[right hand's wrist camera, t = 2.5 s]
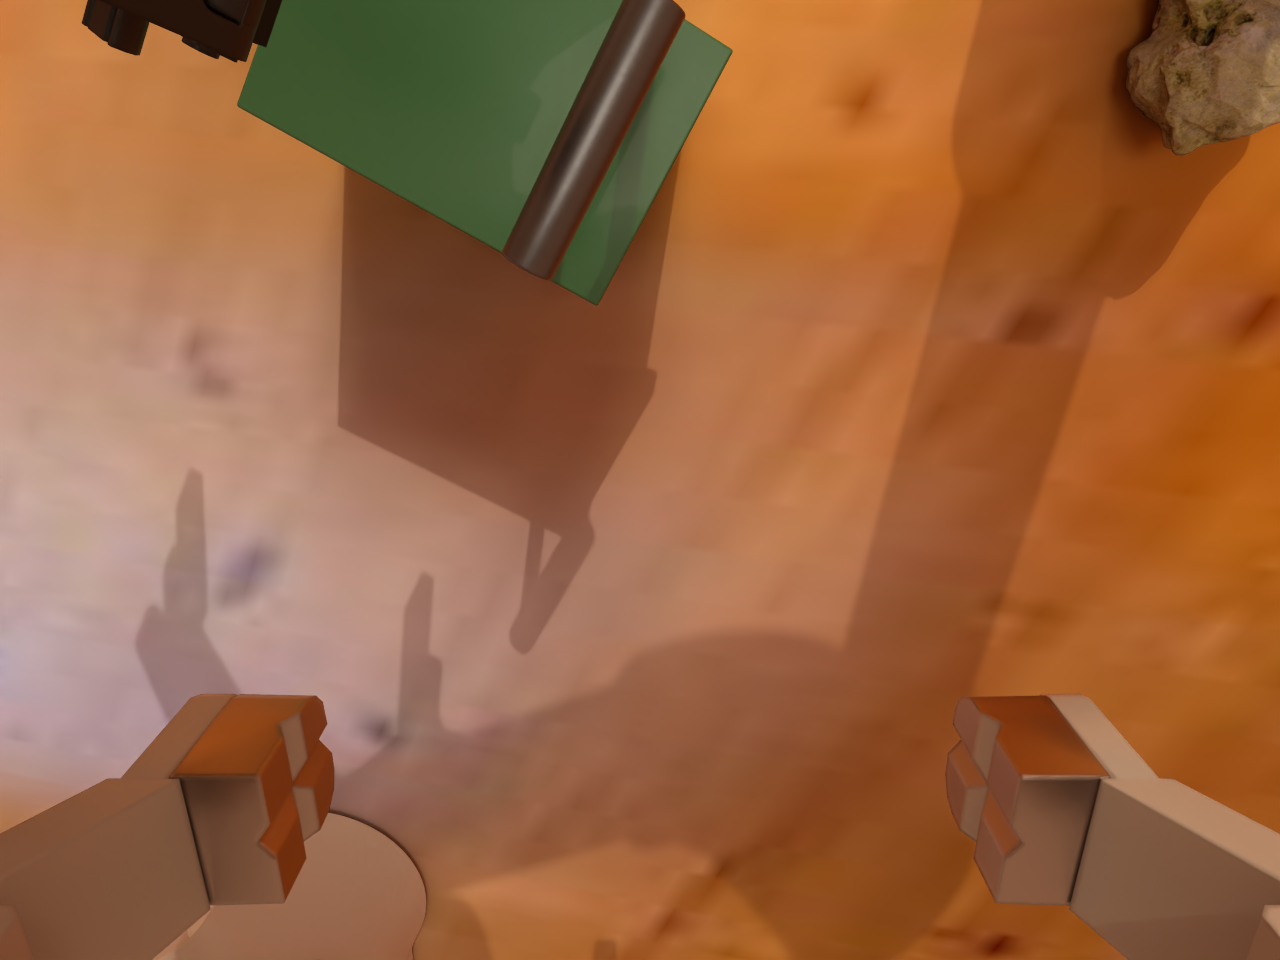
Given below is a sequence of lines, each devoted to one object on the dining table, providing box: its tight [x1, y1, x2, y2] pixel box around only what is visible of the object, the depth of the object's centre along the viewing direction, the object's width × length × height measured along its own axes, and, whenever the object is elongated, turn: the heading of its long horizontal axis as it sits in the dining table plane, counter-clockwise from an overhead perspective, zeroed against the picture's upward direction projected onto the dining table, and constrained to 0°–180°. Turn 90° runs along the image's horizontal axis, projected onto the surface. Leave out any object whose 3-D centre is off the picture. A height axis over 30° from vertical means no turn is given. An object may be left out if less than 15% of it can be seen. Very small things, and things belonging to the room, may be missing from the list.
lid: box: [237, 0, 732, 305], centre depth 25 cm, size 14×10×8 cm
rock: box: [1125, 0, 1280, 155], centre depth 35 cm, size 11×6×10 cm
